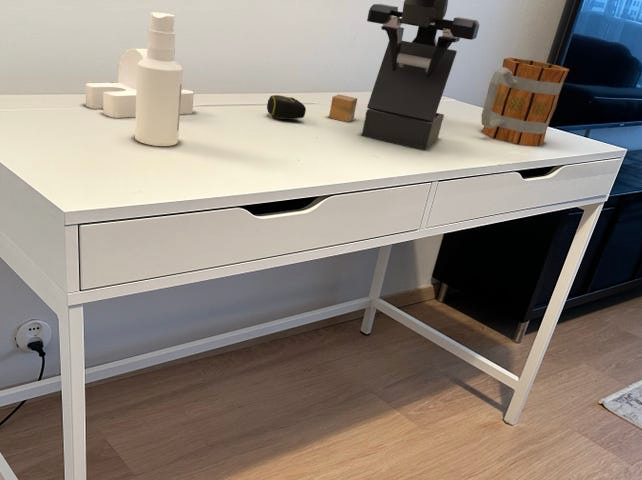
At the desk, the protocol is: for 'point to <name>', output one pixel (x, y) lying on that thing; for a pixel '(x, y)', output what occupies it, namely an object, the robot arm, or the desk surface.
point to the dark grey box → (401, 129)
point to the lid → (411, 82)
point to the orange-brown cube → (343, 108)
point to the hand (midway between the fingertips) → (410, 74)
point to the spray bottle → (159, 86)
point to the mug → (522, 101)
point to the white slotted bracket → (126, 90)
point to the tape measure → (285, 107)
